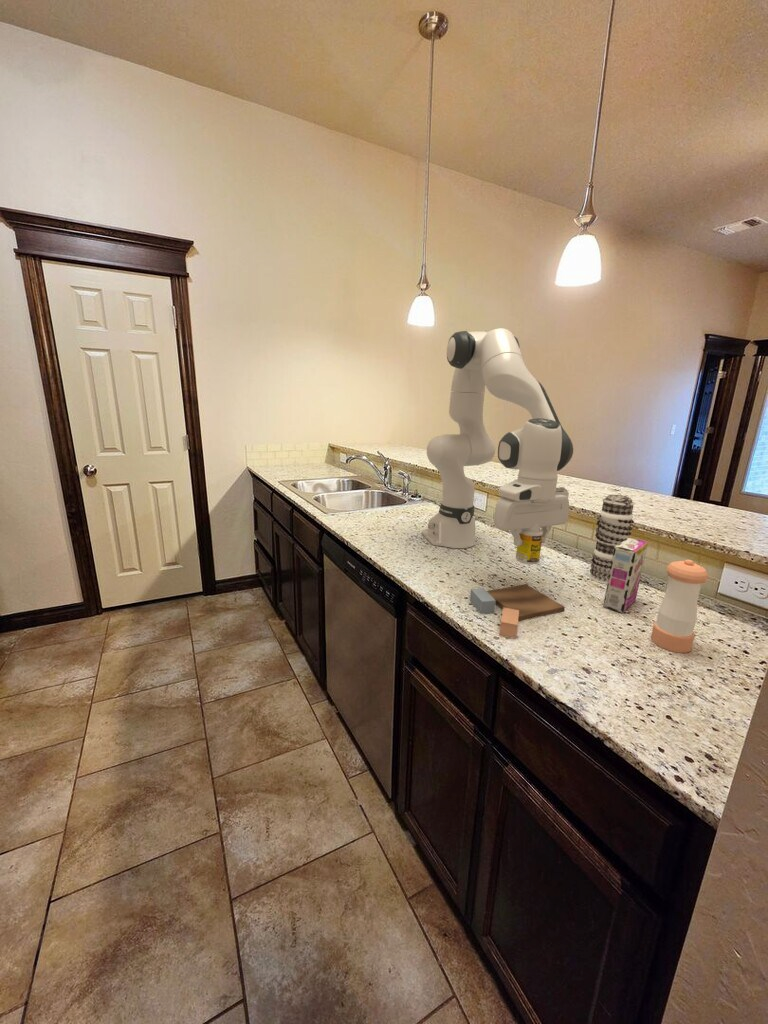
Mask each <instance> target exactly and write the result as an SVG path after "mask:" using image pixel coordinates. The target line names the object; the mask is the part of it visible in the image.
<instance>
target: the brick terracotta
mask: <svg viewBox="0 0 768 1024" xmlns="http://www.w3.org/2000/svg"><path fill="white" fill-rule="evenodd" d="M518 617H519V610H515V609H510V608H504V607H503V609H502V613H501V620H500V627H499V636H501V635H503V636H502V637H506V636H508V637H507V638H511V637H513V638H512V639H517V634H518V632H517V631H518V624H519V621H518Z"/></svg>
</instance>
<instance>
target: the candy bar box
mask: <svg viewBox="0 0 768 1024" xmlns="http://www.w3.org/2000/svg"><path fill="white" fill-rule="evenodd" d="M648 544H649V542H648V541H644V540H640V539H636V538H631V537H627V539H626V540H624V541H623V542H621V543H620V544H618V545H616V546H615V547H614V553H613V558H612V563H611V568H610V573H609V578H608V584H606V589H605V594H604V595H605V596H604V600H603V604H602V606H603V607H604V608H606V609H609V610H611V611H613V612H614V611H615V612H617V613H621V614H623V613H625V612H626V611H627V609H629V608H630V606H632V604H633V603H634V602H635V601H636V600H637V596H638V591H639V587H640V581H641V576H642V572H643V569H644V568H643V567H644V563H645V559H646V554H647V549H648Z"/></svg>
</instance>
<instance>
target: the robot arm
mask: <svg viewBox="0 0 768 1024" xmlns="http://www.w3.org/2000/svg"><path fill="white" fill-rule="evenodd" d="M446 360H447V362H448V363H449V365H450V366H451V367H453V368H454V372H453V376H452V382H451V386H450V387H451V389H450V397H449V408H448V413H449V414H448V415H449V417H450V419H451V420H452V421H454V422H455V423H457V424H458V427H459V433H458V434H457V433H456V434H443V435H442V434H441V435H438V436H434V437H431V439H430V440H429V441H428V443H427V447H426V456H427V460H428V461H429V462H430V464H432V465H433V466H434V467H435V468H436V470H437V471H438V472H439V475H440V478H441V483H442V484H441V485H442V497H441V499H442V500H441V501H442V502H441V503H439V505H438V507H439V509H438V513H436V514H435V515H434V516H433V517H431V518H430V519H429V520H428V524H427V528H426V529H423V530H421V534H422V535H423V537H424V538H425V539H426V540H427V541H428V542H429V543H430V544H431V545H433V546H438V547H440V546H441V547H445V548H451V549H468V548H471V547H473V546H475V545H476V542H477V541H478V537H477V536H476V519H475V518H474V516H475V505H474V500H475V488H476V486H475V483H474V481H472V479H470V478H469V477H467V476H466V475H465V469H464V468H465V467H472V466H481V465H484V464H487V463H490V462H491V461H492V460H493V459H494V457H495V454H496V444H495V442H494V439H492V437H491V436H490V435H489V433H488V432H487V431H486V426H485V424H484V418H483V417H484V416H483V415H484V413H483V412H484V404H485V403H484V401H485V393H486V389H487V390H488V392H489V393H490V394H491V395H492V396H494V397H496V398H497V399H499V400H500V399H501V400H503V401H507V402H509V403H512V404H514V405H518V406H519V407H522V408H523V409H524V410H526V411H527V412H528V413H529V414H530V416H531V419H529V420H527V421H526V422H525V423H524V425H523V426H522V427H520V428H519V429H516V430H513V431H510V432H509V431H508V432H507V433H505V434H504V435H503V436H502V437H501V439H500V440H499V443H498V445H497V446H498V447H497V459H498V460H499V462H500V463H501V465H502V466H504V468H507V469H509V470H518V474H517V479H514V480H513V481H511V482H508V483H507V484H504V485H502V486H500V487H499V488H498V495H499V498H498V500H497V501H496V505H495V509H494V515H493V525H494V526H495V528H497V529H498V530H501V531H504V532H507V531H510V534H511V536H512V537H513V545H514V546H516V547H517V546H522V545H523V540H524V539H522V538H520V535H519V533H521V529H527V528H533V527H534V525H535V524H540V530H542V532H543V536H542V543H541V544H544V543H546V537H547V536H548V534H549V533H550V531H551V530H552V526H559V525H565V524H566V523H568V520H569V517H570V515H569V514H570V501H569V495H570V494H569V491H568V489H566V487H564V486H560V487H557V484H558V477H559V476H558V472H559V471H561V470H563V468H565V467H566V466H567V465H568V464H569V463H570V462H571V459H572V457H573V454H574V444H573V442H572V439H571V438H570V436H569V434H568V433H567V432H566V430H565V429H564V428H563V426H562V424H561V422H560V420H559V418H558V415H557V413H556V410H555V409H554V406H553V405H552V402H551V400H550V397H549V395H548V394H547V391H546V389H545V387H544V386H543V384H542V383H541V382H539V380H537V379H536V377H534V375H533V374H531V372H530V371H529V369H528V368H527V366H526V364H525V361H524V357H523V354H522V351H521V349H520V343H519V339H518V338H517V337H516V336H515V335H514V334H513V333H512V332H511V330H509V329H507V328H503V327H501V328H500V327H499V328H495V329H492V330H490V331H489V330H488V331H487V330H485V331H481V330H480V331H476V330H475V331H467V330H460V331H456V332H454V333H453V334H452V335H451V336H450V338H449V339H448V342H447V346H446Z"/></svg>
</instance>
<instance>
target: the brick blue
mask: <svg viewBox="0 0 768 1024" xmlns="http://www.w3.org/2000/svg"><path fill="white" fill-rule="evenodd" d="M487 591H488V590H486V589H485V588H484V587H481V588H480V587H479V588H471V589H470V593H469V594H470V595H469V601H470V603H471V604H472V605H473V606H474V608H475V609H476V610H477V611H478V612H479V613H480V615H485V614H486V615H488V614H495V613H496V612H495V611H496V600H495V599H494V598H493V597H492V596H491V595H490V594H489V593H488V592H487Z"/></svg>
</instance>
